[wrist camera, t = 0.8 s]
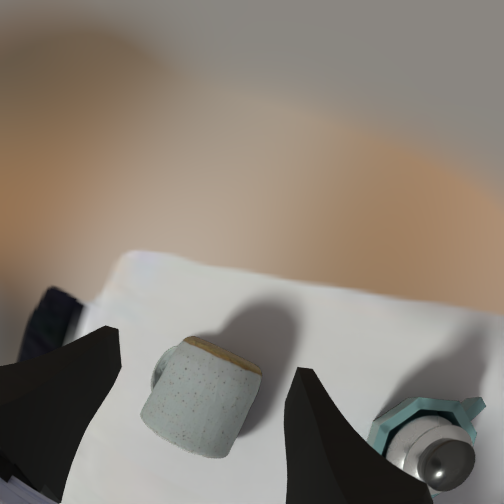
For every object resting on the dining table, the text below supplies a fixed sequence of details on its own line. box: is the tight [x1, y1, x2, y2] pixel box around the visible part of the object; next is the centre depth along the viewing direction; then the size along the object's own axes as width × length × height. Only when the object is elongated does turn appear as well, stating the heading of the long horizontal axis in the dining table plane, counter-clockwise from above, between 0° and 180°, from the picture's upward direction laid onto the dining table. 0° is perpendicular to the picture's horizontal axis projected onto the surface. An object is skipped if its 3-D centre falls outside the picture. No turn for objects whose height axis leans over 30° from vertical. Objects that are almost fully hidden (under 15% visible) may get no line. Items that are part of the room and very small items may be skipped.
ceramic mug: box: [140, 336, 262, 458], centre depth 22 cm, size 11×8×8 cm
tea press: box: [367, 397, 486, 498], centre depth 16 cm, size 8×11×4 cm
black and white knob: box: [385, 415, 475, 495], centre depth 12 cm, size 6×6×6 cm
